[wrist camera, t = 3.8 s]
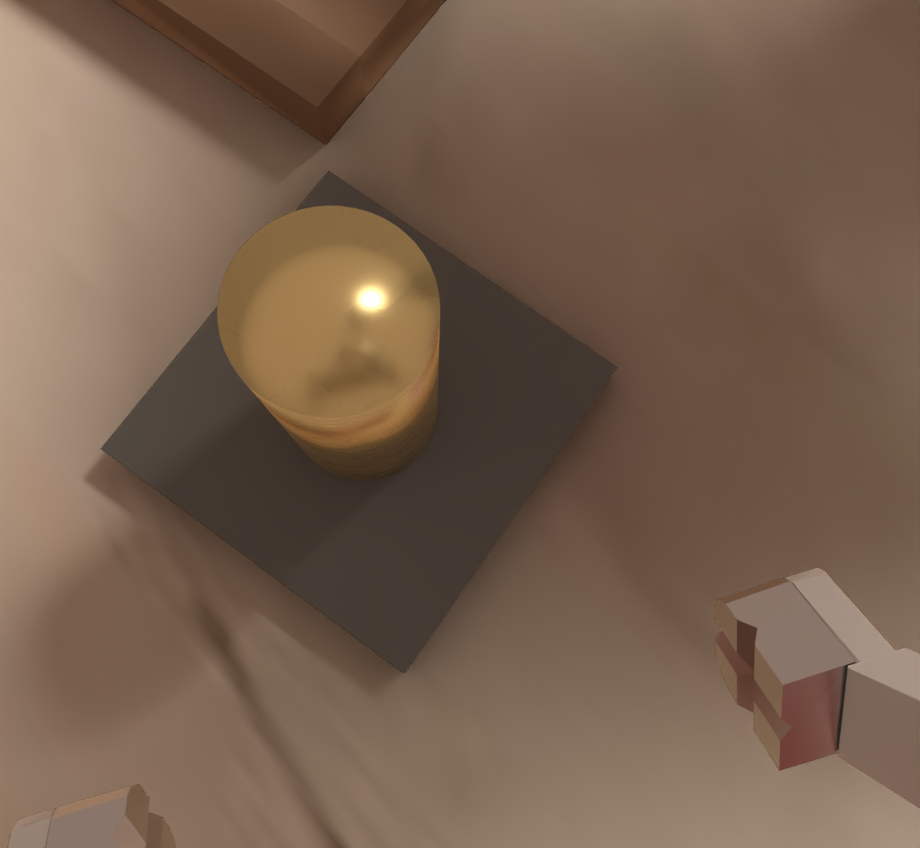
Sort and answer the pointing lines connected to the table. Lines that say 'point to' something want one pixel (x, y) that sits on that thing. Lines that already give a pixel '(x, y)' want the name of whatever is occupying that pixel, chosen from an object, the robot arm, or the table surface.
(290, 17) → the socket block
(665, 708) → the table surface
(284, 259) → the brass peg
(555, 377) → the pad
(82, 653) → the table surface
